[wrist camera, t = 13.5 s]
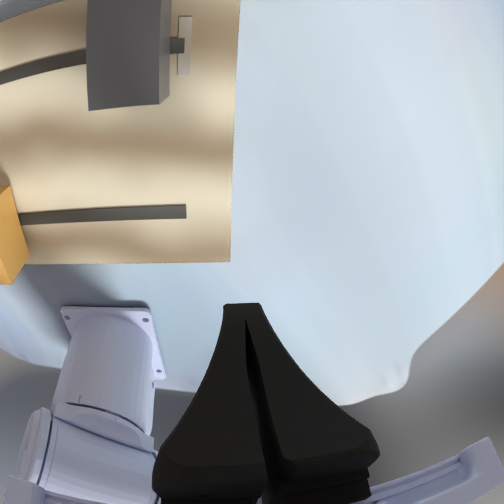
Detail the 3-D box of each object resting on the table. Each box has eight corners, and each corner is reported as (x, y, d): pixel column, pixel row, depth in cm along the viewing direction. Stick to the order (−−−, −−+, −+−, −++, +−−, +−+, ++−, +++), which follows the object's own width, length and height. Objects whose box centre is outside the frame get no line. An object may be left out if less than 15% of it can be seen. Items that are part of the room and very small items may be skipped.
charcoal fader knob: (169, 95, 14) (159, 104, 11) (109, 100, 13) (88, 111, 11) (171, -2, 11) (162, -15, 8) (109, 5, 11) (87, -4, 8)
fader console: (228, 244, 22) (230, 262, 20) (-55, 251, 19) (-67, 264, 17) (238, -11, 13) (241, -20, 11) (-93, 79, 10) (-110, 85, 8)
